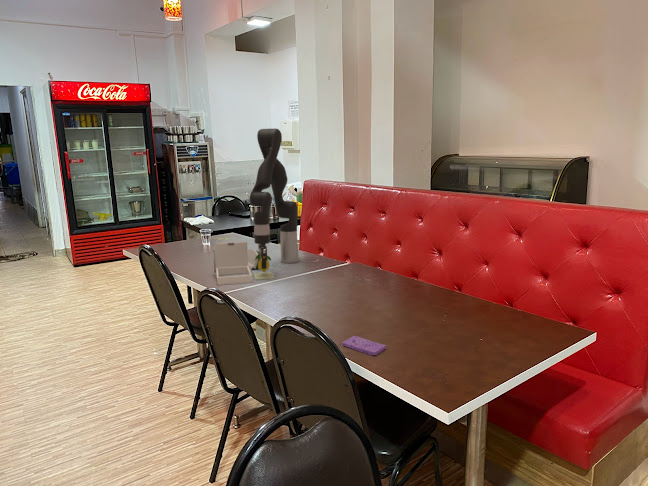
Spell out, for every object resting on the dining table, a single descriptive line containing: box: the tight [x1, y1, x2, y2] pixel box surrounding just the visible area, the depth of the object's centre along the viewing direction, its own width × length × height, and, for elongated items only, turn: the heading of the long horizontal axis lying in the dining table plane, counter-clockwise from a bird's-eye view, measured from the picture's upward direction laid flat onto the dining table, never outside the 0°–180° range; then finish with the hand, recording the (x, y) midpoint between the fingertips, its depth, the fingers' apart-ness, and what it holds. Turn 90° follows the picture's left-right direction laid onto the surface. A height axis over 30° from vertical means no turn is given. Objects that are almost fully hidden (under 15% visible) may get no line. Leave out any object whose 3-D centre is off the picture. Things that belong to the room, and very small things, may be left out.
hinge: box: [247, 248, 261, 272], centre depth 259 cm, size 17×5×10 cm, turn 27°
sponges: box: [341, 335, 387, 356], centre depth 156 cm, size 7×13×2 cm, turn 51°
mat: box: [252, 271, 275, 281], centre depth 240 cm, size 9×11×1 cm
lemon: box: [255, 254, 272, 273], centre depth 239 cm, size 7×6×10 cm
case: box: [212, 241, 253, 286], centre depth 236 cm, size 17×20×16 cm
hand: (263, 267), depth 239 cm, fingers closed on lemon, 5 cm apart
